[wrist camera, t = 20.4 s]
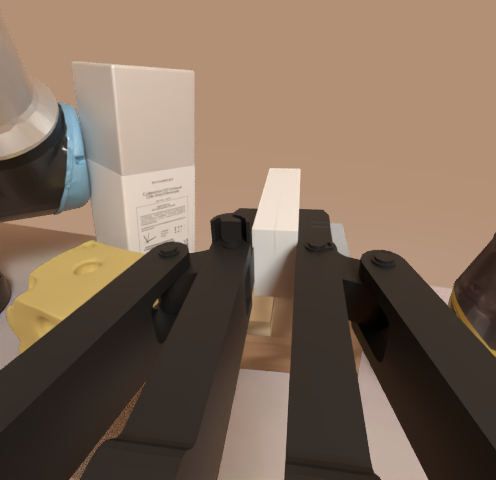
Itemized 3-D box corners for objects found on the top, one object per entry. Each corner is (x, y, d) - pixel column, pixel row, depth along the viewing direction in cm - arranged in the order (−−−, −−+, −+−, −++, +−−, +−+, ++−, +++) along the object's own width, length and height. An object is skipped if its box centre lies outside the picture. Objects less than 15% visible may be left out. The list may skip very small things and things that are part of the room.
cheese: (28, 374, 32) (-15, 288, 27) (115, 308, 40) (93, 233, 36) (104, 419, 28) (68, 326, 23) (184, 334, 36) (170, 253, 31)
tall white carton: (159, 255, 50) (149, 66, 39) (195, 280, 45) (196, 70, 34) (100, 275, 44) (69, 60, 33) (134, 307, 39) (110, 64, 28)
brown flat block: (204, 365, 32) (200, 337, 30) (231, 285, 43) (229, 262, 42) (357, 378, 30) (361, 350, 28) (342, 291, 41) (345, 267, 40)
